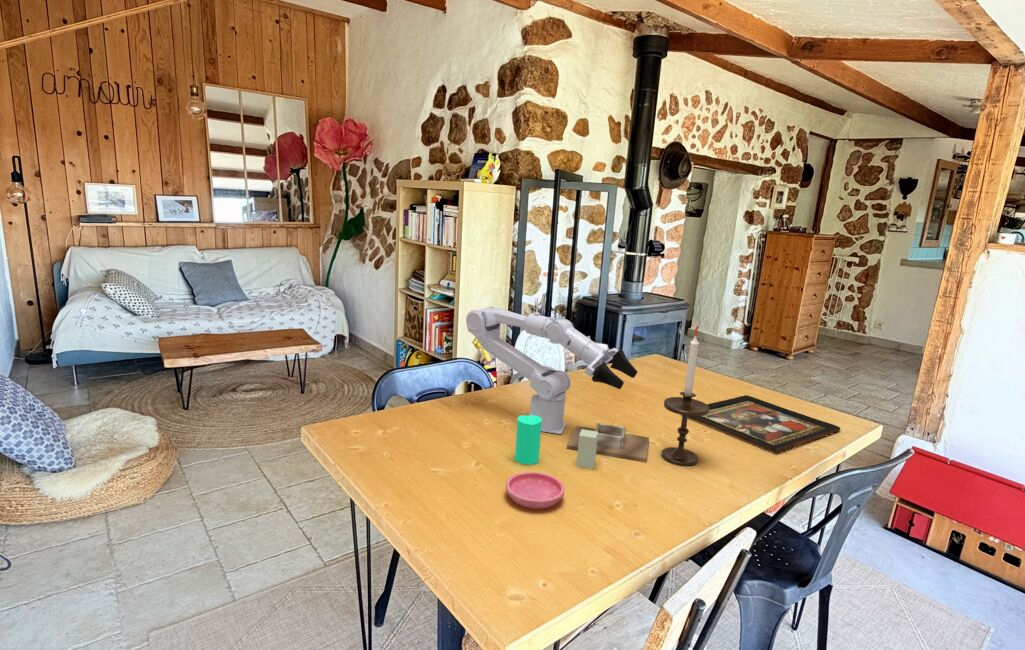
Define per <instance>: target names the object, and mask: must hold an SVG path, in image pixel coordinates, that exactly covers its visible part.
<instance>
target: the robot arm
mask: <svg viewBox="0 0 1025 650" xmlns="http://www.w3.org/2000/svg"><path fill="white" fill-rule="evenodd" d="M465 317H466V318H465V323H466V328H467V332H468V333H470V334H472V335H473V336H474V337H475V339H476V341H477V342H478V343H479V345H480V346H481V348H482V349H483V350H484V351H486V352H487V353H488V354H490V355H492V356H493V357H494V358H495V359H498V360H499V361H500V362H502V363H503V364H505V366H507V367H509V368H510V369H511V370H513V371H515V372H517V373H518V374H520V375H521V376H523V377H524V378H526V379H527V380H528V381H529V382H530V383H529V386H530V388H531V389H533V390H534V391H535V392H536V394H533V395H532V396H531V400H530V402H529V411H528V412H529V413H528V416H529V415H535V416H539V417H540V418H541V419H542V423H541V432H544V433H550V434H555V435H562V434H563V432H564V430H565V429H566V426H567V423H566V422H564V417H565V407H566V406H565V404H566V395H567V394H566V392H567V391H568V390H570V387H571V379H570V376H569V374H568V373H566V372H565V371H563V370H558V369H555V368H553V367H551V366H546V365H543V364H541V363H539V362H537V361H536V360H535V359H533V358H531V357H530V356H528V355H527V354H525V353H523V352H522V351H521V350H519V349H517V348H516V347H514V346H513V345H511V344H510V343H509V342H508V341H507V342H506V341H505V340H504V339H502V338H501V325H502V324H503V325H509V326H512V327H517V328H522V329H524V331H525V333H526V334H529V335H532V336H536V337H539V338H542V339H543V338H544V339H548V340H549V343H551V344H555V345H557V344H558V345H561V346H562V347H563V348H564V349H566V350H567V351H569V352H570V353H571V354H573V355H574V356H576V357H577V358H578V359H579V360H581V361H582V362H584V363H585V364H587V366H586V368H585V371H584V374H586V375H587V376H589V377H591V381H592V382H594V383H601V384H606V385H608V386H611V387H613V388H615V389H618V390H621V389H622V387H623V385H624V384H625V382H624V380H623V379H621V378H620V377H619V376H618V375H616V373H614V372H613V370H616V371H619V372H621V373H623V374H625V375H626V376H628V377H630V378H632V379H635V377H636V376H637V374H638V372H639V371H638V370H637V369H636V368H635V366H634V365H632V363H631V362H630V361H629V359H628V357H627V356H626V354H625V351H624V350H623V349H621V348H620V349H617V348H615V347H613V348H611V349H610V348H609V347H607V346H606V347H605V348H603V347H602V346H600V345H599V344H598V343H596V342H594V341H593V340H592V339H590V338H589V337H587V336H586V335H585V334H583V333H582V332H580V331H579V330H578V329H576V328H575V327H574V325H573V323H572V322H571V321H570V320H568V319H567V318H565V317H562V318H559V319H558V320H557V318H556V317H555V316H549V317H548V316H544V315H541V313H540V312H537V311H536V312H533V313H530V314H528V315H527V316H526V315H523V314H519V313H516V312H512V311H510V310H506V309H505V308H504V309H503V308H501V307H494V306H488V307H486V308H482V309H481V308H480V309H475V310H470V311H468V313H467V315H466V316H465ZM609 362H611V365H610V367H609V365H607V364H608V363H609ZM611 369H613V370H611Z"/></svg>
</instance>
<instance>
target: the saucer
mask: <svg viewBox="0 0 1025 650" xmlns="http://www.w3.org/2000/svg"><path fill="white" fill-rule="evenodd" d="M505 482H506V483H505V491H506V493H507V495H508V496H509V498H511V499H512V500H513V502H515V504H516V505H518V504H519V505H518V506H520V507H522V508H524V507H526V508H525V509H528V508H529V509H528V510H536V509H538V510H544V509H545V508H546V509H550V508H551V507H553V506H554V505H556V504H558V502H560V500H562V499H563V498H564V495H565V485H564V484H563V482H562V481H561V480H560V479H559V478H557V477H556V476H554V475H552V474H548V473H546V472H541V471H523V472H517V473H515V474H513V475H511V476H509V477H508V478H507V480H506V481H505Z"/></svg>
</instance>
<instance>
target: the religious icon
mask: <svg viewBox="0 0 1025 650" xmlns="http://www.w3.org/2000/svg"><path fill="white" fill-rule="evenodd" d="M706 404H707V405H708V406H709V408H710V409H709V413H708V414H707V415H705V416H688V419H687V420H690V421H693V422H694V423H696V424H699V425H702V426H703V427H704V426H705V427H706V428H709V429H711V430H714V431H716V432H719V433H722V434H724V435H725V436H729V437H731V438H734V439H736V440H739V441H740V442H743V443H745V444H748V445H750V444H751V445H750V446H753V447H755V446H756V447H755V448H757V447H758V448H757V449H759V448H760V450H762V451H764V450H765V452H767V451H768V453H769V452H771V453H770V454H772V453H773V455H775V454H776V455H779V454H778V453H780V454H782V453H784V452H783V451H785V452H787V451H786V450H788V451H790V450H789V449H791V450H793V449H795V448H794V447H796V446H799V445H801V446H803V445H802V444H804V445H806V444H805V443H807V442H809V443H811V442H810V441H812V440H815V439H817V440H819V439H818V438H820V437H823V436H826V435H828V436H830V435H829V434H831V433H834V432H836V433H839V432H840V430H841V427H840V426H837V425H836V424H833V423H830V422H826V421H823V420H821V419H818V418H814V417H812V416H809V415H806V414H802V413H799V412H797V411H793V410H791V409H787V408H784V407H782V406H779V405H777V404H774V403H770V402H768V401H765V400H762V399H760V398H757V397H753V396H750V395H747V394H746V395H740V396H737V397H733V398H729V399H724V400H719V401H716V402H710V403H706ZM838 431H839V432H838ZM834 434H835V433H834ZM831 435H832V434H831ZM826 437H827V436H826ZM823 438H824V437H823ZM820 439H821V438H820ZM815 441H816V440H815ZM812 442H813V441H812ZM807 444H808V443H807ZM799 447H800V446H799ZM792 448H793V449H792ZM796 448H797V447H796ZM781 452H782V453H781Z"/></svg>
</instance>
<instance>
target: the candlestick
mask: <svg viewBox="0 0 1025 650" xmlns="http://www.w3.org/2000/svg"><path fill="white" fill-rule="evenodd" d="M698 331H699V325H698V323H697V324H696V327H695V329H694V331H693V333H694V337H693V339H692V340H690V346H689V353H688V358H687V359H688V361H687V368H686V369H687V370H686V375H685V376H686V377H685V384H684V390H683V391H680V392H679V395H681V396H672V397H668V398H667V397H666V398H665V399H664V401H663V407H664V409H666V410H667V411H669V412H671V413H674V414H676V415H677V414H678V415H680V416H681V423H680V427H677V430H676V431H677V433H678V437H677V438H676V441H678V444H677V445H678V446H677V447H675V446H673V447H672V446H671V447H670V446H669V447H665V448H663V449H662V450H661V454H660V456H661V458H662V459H663V460H664V461H666V462H667V463H669V464H671V465H675V466H681V467H693V466H696V465H697V464H698V463H699V456H698V454H696V453H695V452H693V451H691V450H690V449H686V448H685V443H686V442H688V439H687V438H686V436H687V435H688V434H689V433H690V431H689V429H688V427H687V425H688V420H689V419H688V416H705V415H707V414H708V413H709V409H710V408H709V406H708V405H707V404H708V403H705V402H703V401H700V400H699V399H698V400H697V399H694V398H696V397H697V394H695V393H693V389H694V381H695V380H694V379H695V375H696V374H695V373H696V366H697V359H698V351H699V344H700V343H699V341H698Z"/></svg>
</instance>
